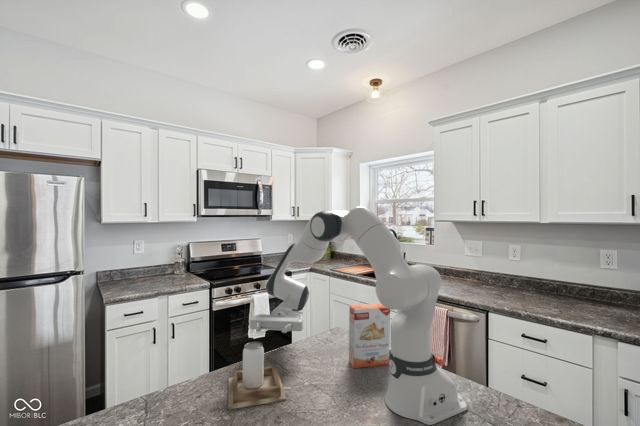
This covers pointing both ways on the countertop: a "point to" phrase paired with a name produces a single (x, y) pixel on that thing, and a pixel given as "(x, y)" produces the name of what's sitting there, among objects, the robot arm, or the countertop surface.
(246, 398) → the wooden serving tray
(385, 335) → the cracker box
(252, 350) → the can
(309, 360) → the countertop surface
